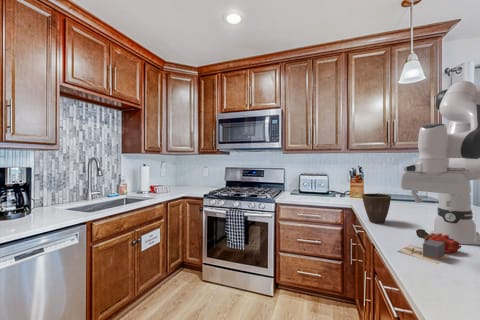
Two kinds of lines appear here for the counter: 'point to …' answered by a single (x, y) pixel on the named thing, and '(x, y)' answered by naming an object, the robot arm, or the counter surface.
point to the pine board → (418, 253)
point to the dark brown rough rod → (421, 233)
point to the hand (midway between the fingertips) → (433, 204)
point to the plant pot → (376, 207)
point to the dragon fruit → (449, 243)
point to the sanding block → (433, 250)
